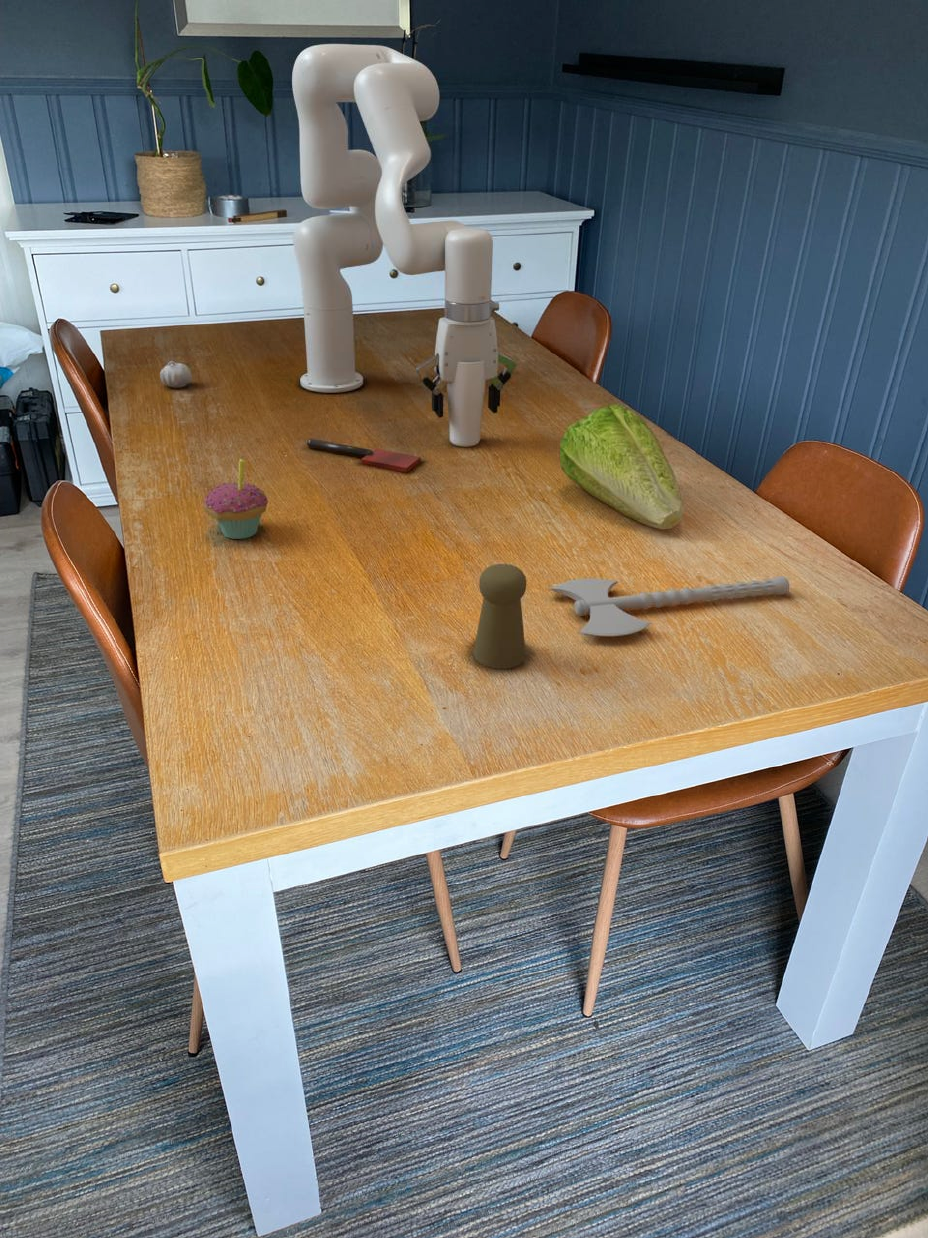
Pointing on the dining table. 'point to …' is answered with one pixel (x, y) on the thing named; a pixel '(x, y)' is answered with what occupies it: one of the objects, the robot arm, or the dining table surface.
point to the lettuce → (622, 466)
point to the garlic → (175, 375)
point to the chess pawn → (501, 617)
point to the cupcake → (236, 507)
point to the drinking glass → (466, 403)
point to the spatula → (370, 455)
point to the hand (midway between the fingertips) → (465, 412)
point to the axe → (648, 601)
